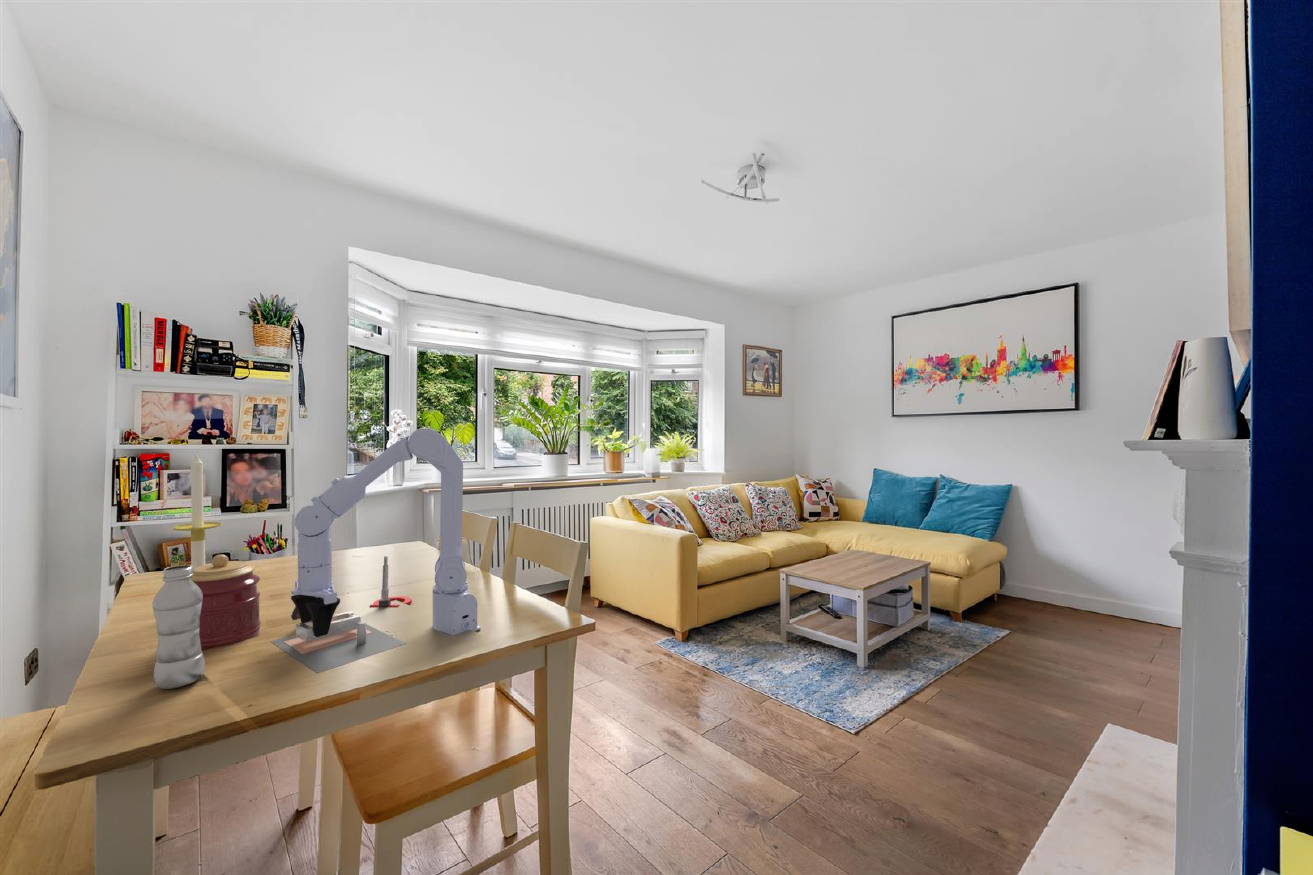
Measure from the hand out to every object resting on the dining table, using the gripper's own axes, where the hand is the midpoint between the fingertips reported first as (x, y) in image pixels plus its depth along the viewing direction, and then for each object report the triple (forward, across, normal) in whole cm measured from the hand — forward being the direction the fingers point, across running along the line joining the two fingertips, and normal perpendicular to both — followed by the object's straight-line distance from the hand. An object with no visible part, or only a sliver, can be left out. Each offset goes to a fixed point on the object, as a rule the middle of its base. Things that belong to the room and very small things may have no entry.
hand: (315, 631), depth 107 cm
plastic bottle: (+3, -1, -20) cm, 21 cm away
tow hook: (+3, -12, +22) cm, 25 cm away
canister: (+3, -18, -10) cm, 21 cm away
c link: (+1, 0, +2) cm, 3 cm away
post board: (+3, +4, +2) cm, 6 cm away
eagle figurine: (+3, -12, +4) cm, 13 cm away
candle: (+3, -42, -8) cm, 43 cm away
